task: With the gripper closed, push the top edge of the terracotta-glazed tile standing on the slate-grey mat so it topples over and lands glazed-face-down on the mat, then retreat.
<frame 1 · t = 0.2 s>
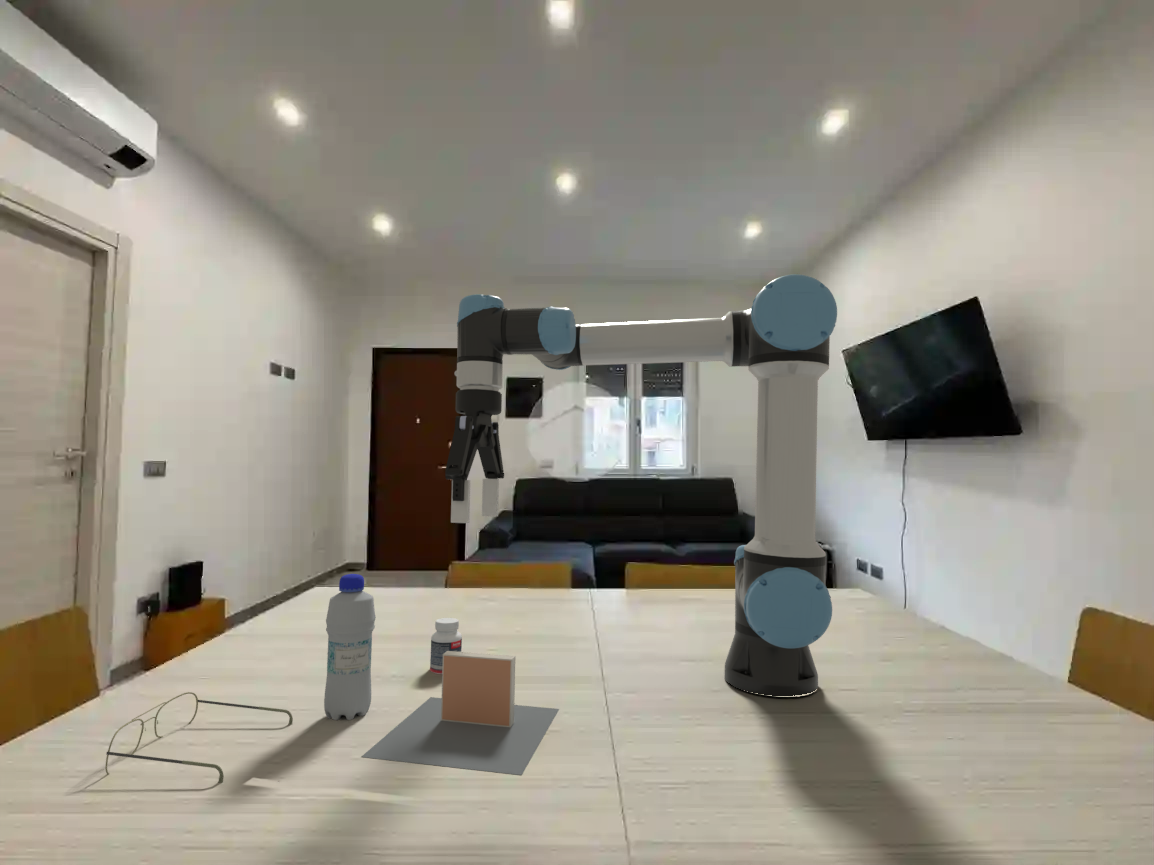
hand: (475, 519, 102), 27 cm above the table, fingers open, 13 cm apart
bottle: (347, 717, 88), on the table
pill bottle: (445, 673, 108), on the table
mat: (469, 735, 83), on the table
eyeglasses: (202, 753, 78), on the table
tile: (477, 721, 86), point 1 cm above the table, touching mat
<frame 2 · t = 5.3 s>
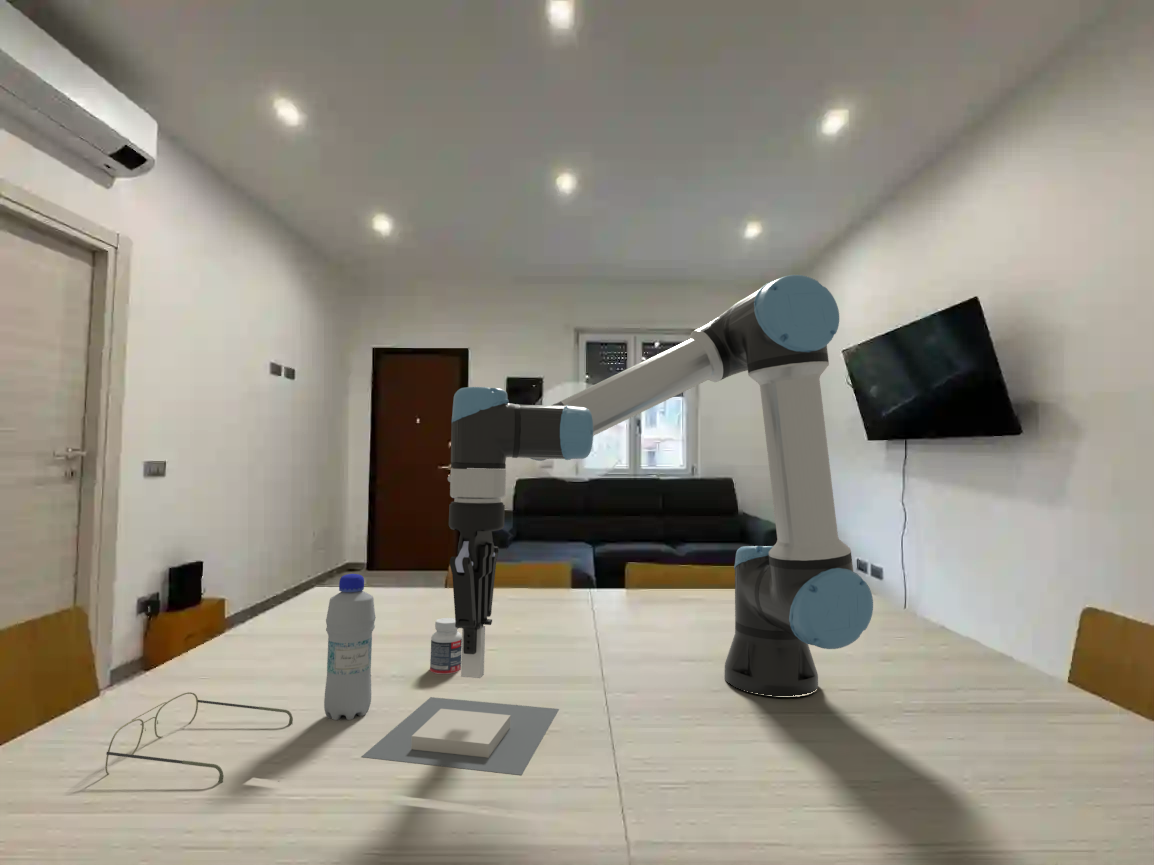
hand: (472, 675, 84), 7 cm above the table, fingers closed
tile: (475, 717, 85), point 1 cm above the table, tilted 90°, touching mat
everything else where it was.
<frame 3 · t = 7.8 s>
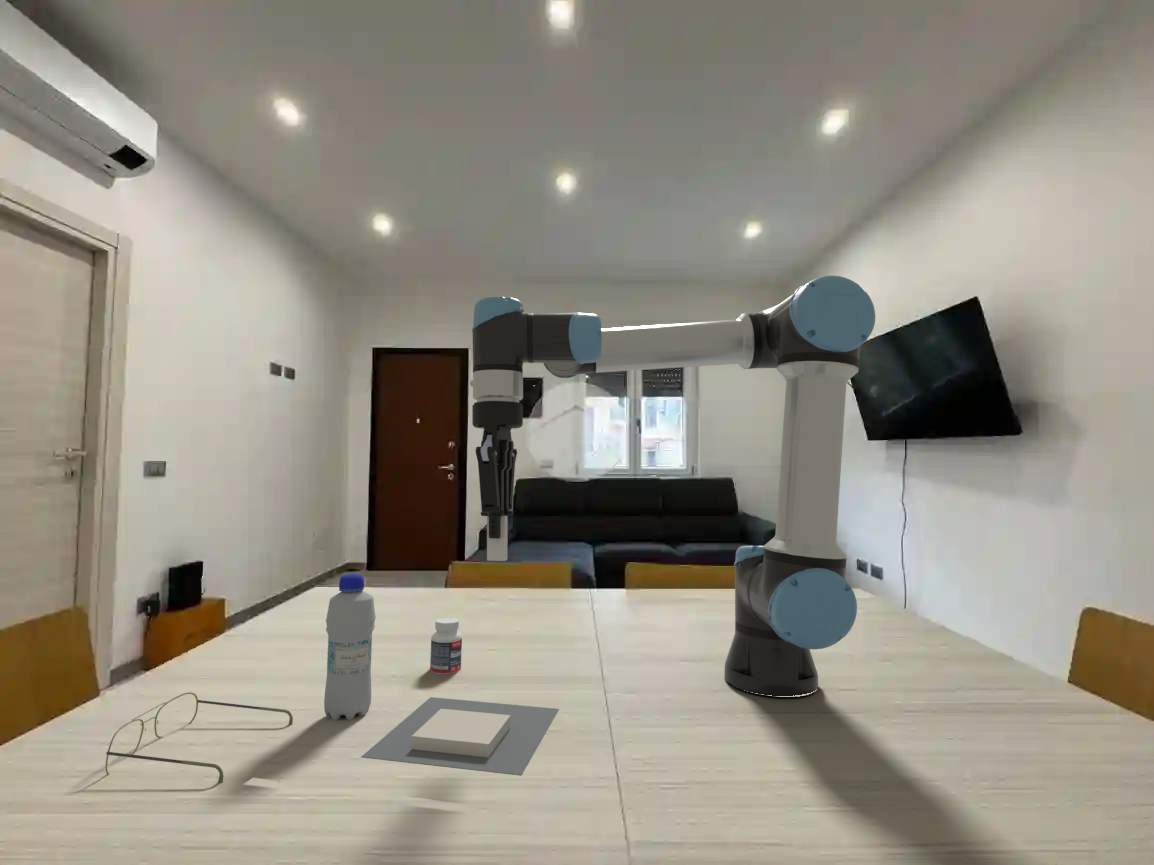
hand: (497, 559, 92), 22 cm above the table, fingers closed
nothing on the table moved.
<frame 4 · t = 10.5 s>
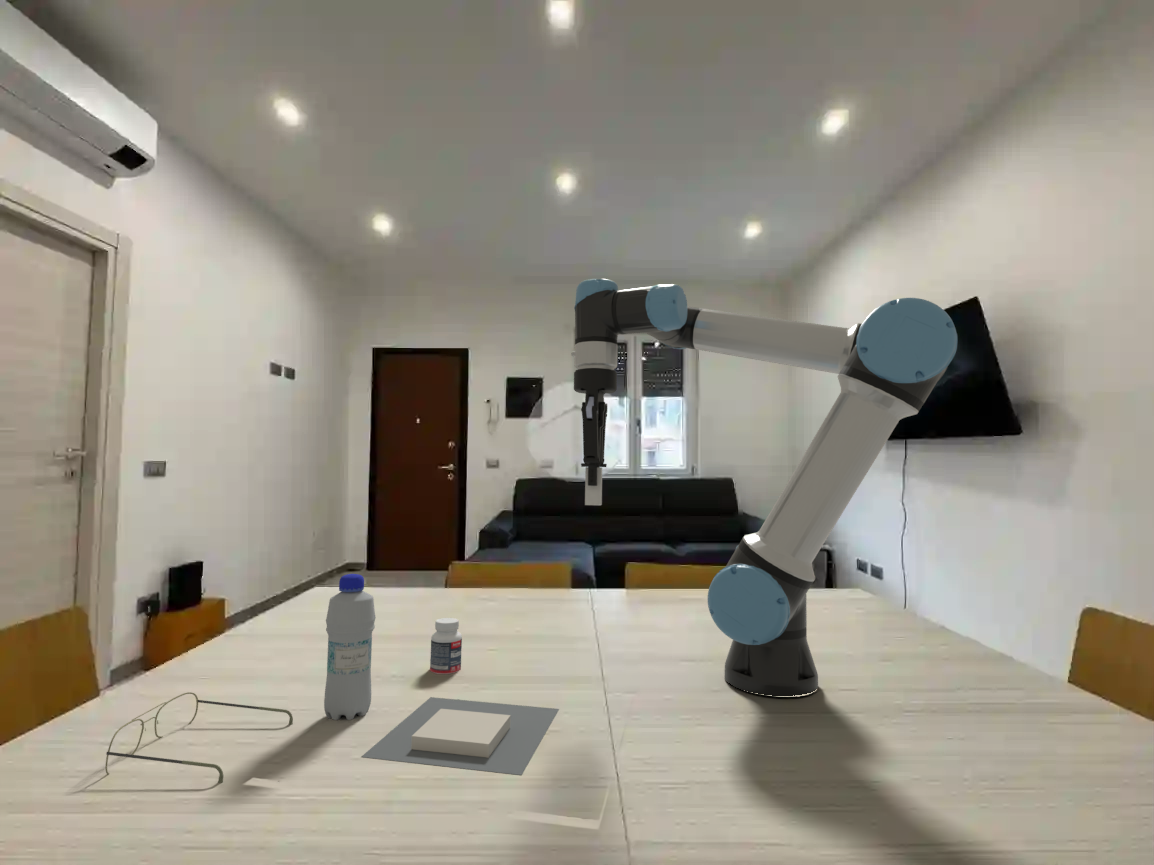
hand: (593, 504, 108), 29 cm above the table, fingers closed
nothing on the table moved.
at the end: tile tilted 90°; tile inside the target area on the mat (2.1 cm from its centre), point 1.4 cm above the mat's base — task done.
